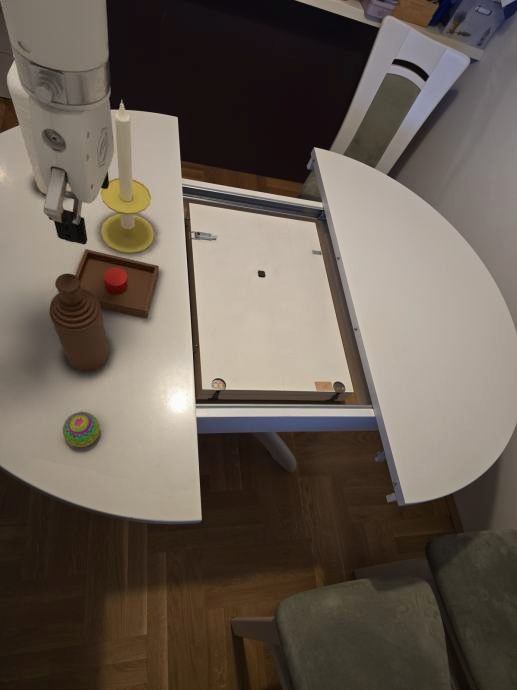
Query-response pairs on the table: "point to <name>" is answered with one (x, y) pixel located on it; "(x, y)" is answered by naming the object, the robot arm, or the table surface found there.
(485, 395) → the table surface
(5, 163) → the table surface
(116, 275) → the cap
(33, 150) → the white ribbed tube
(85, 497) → the table surface
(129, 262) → the tray
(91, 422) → the egg
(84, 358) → the bottle
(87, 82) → the robot arm
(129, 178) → the candle
